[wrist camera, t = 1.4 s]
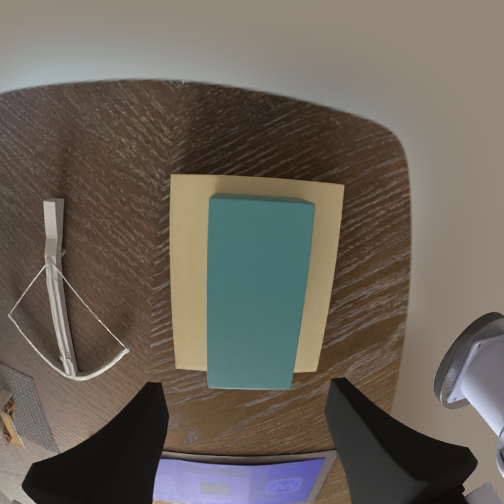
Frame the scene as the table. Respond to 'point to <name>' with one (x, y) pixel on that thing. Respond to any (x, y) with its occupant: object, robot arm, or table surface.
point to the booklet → (241, 478)
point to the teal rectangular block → (255, 288)
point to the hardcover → (195, 258)
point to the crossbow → (60, 301)
